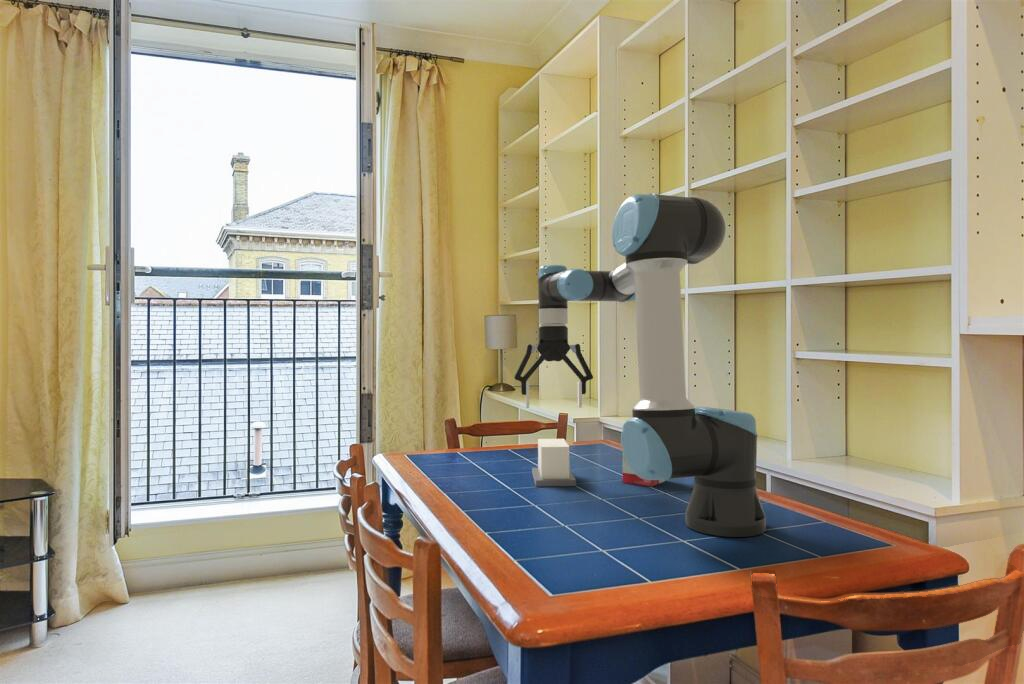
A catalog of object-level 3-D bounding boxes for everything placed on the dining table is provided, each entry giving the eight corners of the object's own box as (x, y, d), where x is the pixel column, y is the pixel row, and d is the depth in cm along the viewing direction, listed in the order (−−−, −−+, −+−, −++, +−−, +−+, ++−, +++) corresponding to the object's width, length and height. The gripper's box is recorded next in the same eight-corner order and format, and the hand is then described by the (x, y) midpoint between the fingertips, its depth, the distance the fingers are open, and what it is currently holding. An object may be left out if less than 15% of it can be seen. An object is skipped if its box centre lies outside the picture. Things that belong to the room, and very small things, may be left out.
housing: (569, 478, 170) (569, 446, 170) (541, 479, 170) (541, 447, 170) (564, 468, 183) (563, 438, 183) (538, 468, 183) (538, 438, 183)
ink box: (652, 487, 167) (652, 439, 167) (621, 482, 172) (621, 436, 172) (667, 481, 174) (667, 434, 174) (636, 476, 179) (636, 432, 179)
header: (576, 486, 169) (575, 461, 169) (535, 486, 169) (535, 462, 168) (568, 472, 185) (568, 450, 185) (532, 473, 185) (532, 451, 184)
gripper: (598, 325, 180) (599, 405, 181) (504, 325, 179) (505, 406, 180) (603, 325, 173) (603, 408, 173) (505, 325, 172) (506, 409, 172)
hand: (553, 407), depth 176 cm, fingers open, 13 cm apart
